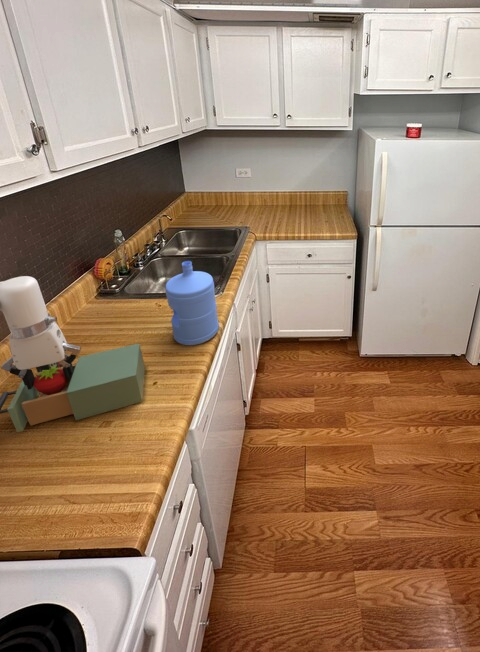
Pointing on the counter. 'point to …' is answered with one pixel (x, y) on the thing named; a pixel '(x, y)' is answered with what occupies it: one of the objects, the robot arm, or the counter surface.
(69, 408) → the drawer
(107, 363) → the cabinet
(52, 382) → the strawberry
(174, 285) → the water jug
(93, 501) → the counter surface
